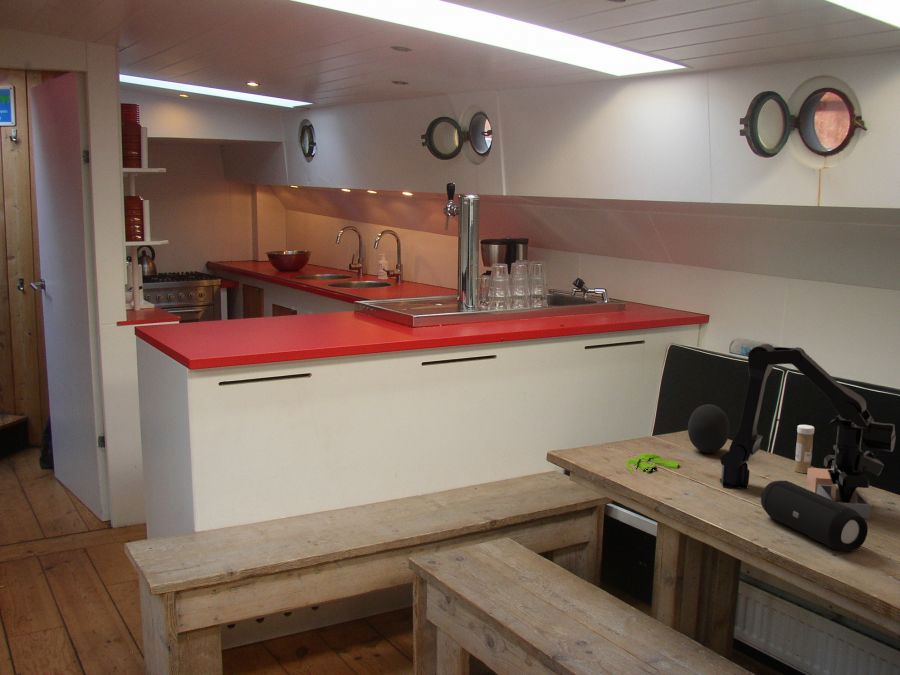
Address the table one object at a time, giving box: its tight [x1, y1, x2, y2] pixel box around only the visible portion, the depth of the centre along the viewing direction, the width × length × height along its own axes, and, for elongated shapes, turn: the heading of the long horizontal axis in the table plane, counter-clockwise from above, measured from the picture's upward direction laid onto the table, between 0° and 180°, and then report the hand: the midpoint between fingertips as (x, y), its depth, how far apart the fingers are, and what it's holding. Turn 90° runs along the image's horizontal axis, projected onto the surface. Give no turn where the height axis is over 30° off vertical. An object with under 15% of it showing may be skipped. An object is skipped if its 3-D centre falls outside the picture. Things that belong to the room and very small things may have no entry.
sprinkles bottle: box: [794, 424, 815, 474], centre depth 258 cm, size 5×5×14 cm
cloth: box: [625, 452, 680, 475], centre depth 261 cm, size 20×22×2 cm
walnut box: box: [831, 484, 858, 504], centre depth 229 cm, size 5×4×6 cm
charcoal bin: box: [817, 485, 872, 520], centre depth 229 cm, size 9×14×4 cm, turn 172°
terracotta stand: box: [805, 467, 832, 493], centre depth 243 cm, size 9×9×4 cm
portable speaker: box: [760, 480, 869, 552], centre depth 210 cm, size 26×10×10 cm, turn 22°
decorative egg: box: [687, 404, 730, 454], centre depth 275 cm, size 12×12×15 cm
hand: (842, 503), depth 229 cm, fingers closed on walnut box, 4 cm apart
